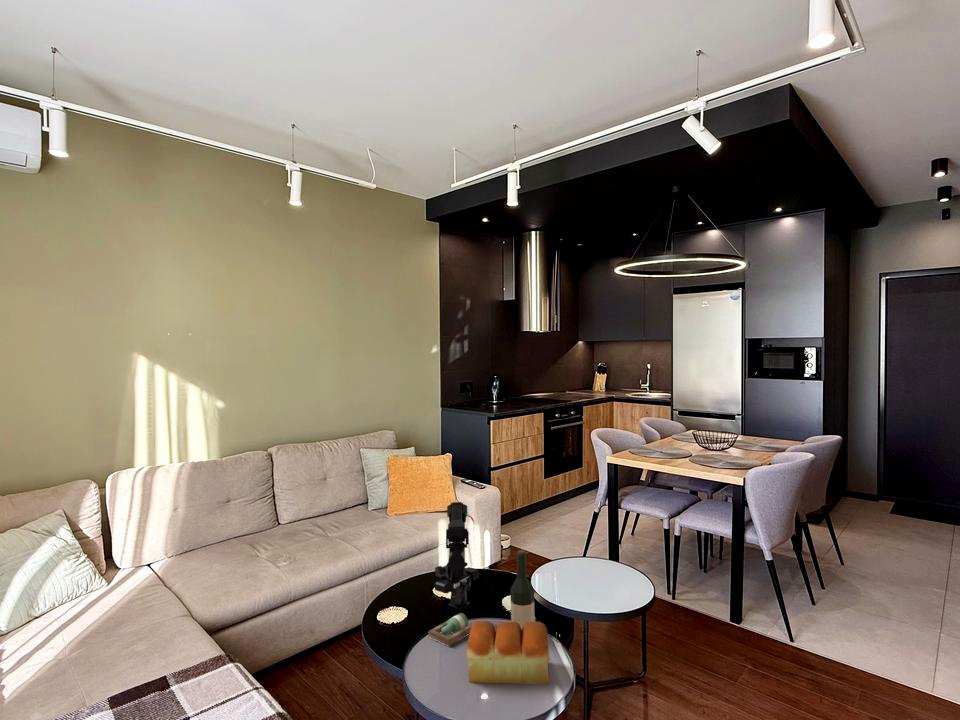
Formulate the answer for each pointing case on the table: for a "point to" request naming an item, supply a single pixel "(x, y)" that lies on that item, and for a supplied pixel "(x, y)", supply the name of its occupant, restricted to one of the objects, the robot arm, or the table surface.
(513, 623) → the bread
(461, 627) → the bottle
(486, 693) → the table surface
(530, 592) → the wine bottle
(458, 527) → the robot arm
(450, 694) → the table surface
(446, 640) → the wooden tray
